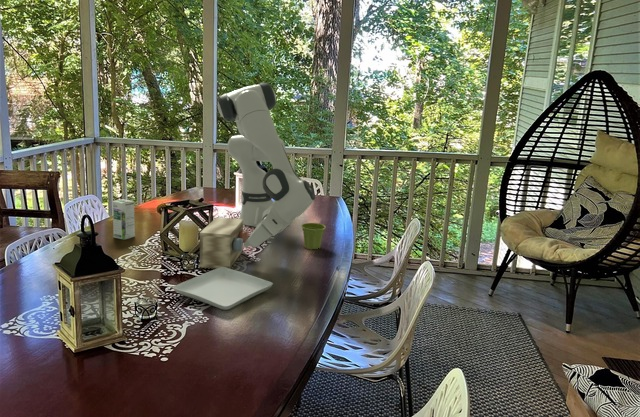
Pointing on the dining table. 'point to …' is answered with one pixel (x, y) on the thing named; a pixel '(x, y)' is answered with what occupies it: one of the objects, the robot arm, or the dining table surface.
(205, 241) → the cardboard box
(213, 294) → the salad plate
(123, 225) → the syrup box
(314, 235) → the plant pot
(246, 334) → the dining table surface
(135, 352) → the dining table surface
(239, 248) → the blue grey rounded piece
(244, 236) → the button brick
